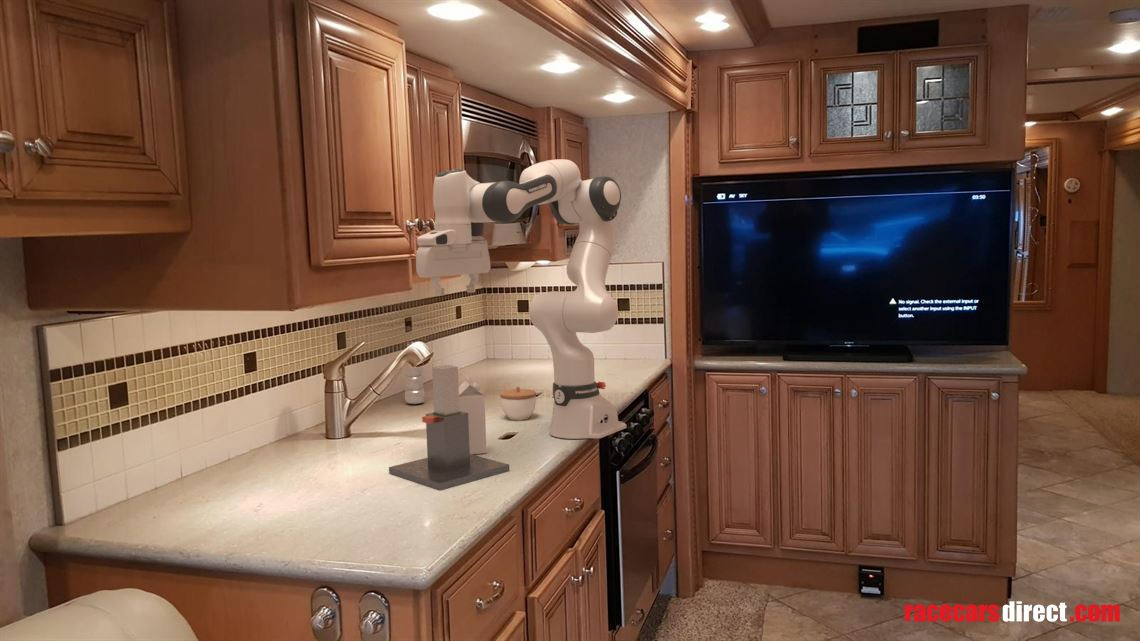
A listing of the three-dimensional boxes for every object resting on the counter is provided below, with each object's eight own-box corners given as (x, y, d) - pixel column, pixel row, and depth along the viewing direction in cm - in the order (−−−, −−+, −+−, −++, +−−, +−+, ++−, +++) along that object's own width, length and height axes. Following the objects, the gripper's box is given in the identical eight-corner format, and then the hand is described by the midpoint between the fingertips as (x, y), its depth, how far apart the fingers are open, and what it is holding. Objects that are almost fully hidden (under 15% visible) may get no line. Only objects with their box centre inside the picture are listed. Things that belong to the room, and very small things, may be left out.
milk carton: (458, 456, 219) (455, 381, 217) (454, 449, 226) (451, 377, 224) (486, 453, 221) (484, 379, 219) (482, 447, 228) (479, 375, 225)
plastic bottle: (419, 401, 290) (416, 341, 288) (429, 404, 285) (426, 343, 283) (401, 403, 286) (398, 343, 284) (411, 406, 281) (408, 345, 279)
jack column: (450, 439, 207) (446, 364, 205) (461, 442, 204) (458, 366, 202) (434, 443, 204) (431, 367, 202) (446, 446, 201) (442, 369, 199)
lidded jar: (544, 416, 262) (543, 385, 261) (521, 423, 254) (520, 391, 253) (516, 412, 269) (515, 382, 267) (493, 419, 260) (492, 388, 259)
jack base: (457, 456, 219) (455, 401, 217) (509, 470, 205) (507, 412, 203) (389, 473, 205) (386, 414, 204) (440, 490, 191) (437, 427, 189)
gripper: (478, 235, 221) (480, 290, 222) (411, 238, 207) (413, 296, 208) (494, 235, 216) (496, 291, 218) (426, 238, 202) (429, 297, 204)
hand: (455, 294), depth 213 cm, fingers open, 8 cm apart
